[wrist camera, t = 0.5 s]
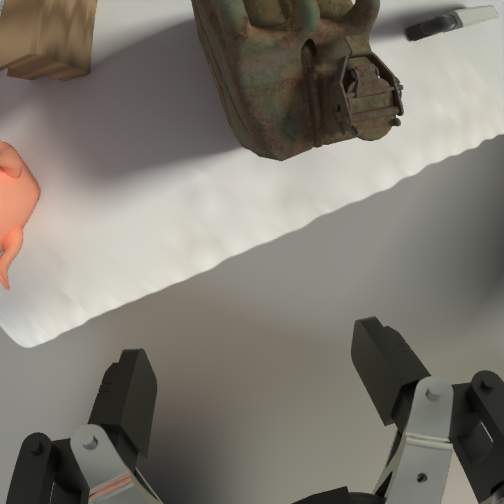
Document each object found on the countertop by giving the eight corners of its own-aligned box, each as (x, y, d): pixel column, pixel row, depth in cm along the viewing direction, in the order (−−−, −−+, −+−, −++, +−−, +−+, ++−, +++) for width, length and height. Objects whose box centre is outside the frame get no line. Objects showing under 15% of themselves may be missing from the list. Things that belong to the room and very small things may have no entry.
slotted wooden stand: (39, 17, 22) (-20, -11, 8) (101, -5, 23) (54, -52, 9) (30, 94, 27) (-41, 90, 13) (93, 76, 28) (29, 53, 14)
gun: (391, 32, 28) (443, 11, 19) (456, 14, 30) (494, 4, 21) (400, 47, 29) (453, 30, 20) (462, 25, 31) (500, 17, 22)
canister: (191, 19, 27) (158, -115, 4) (256, 2, 27) (307, -130, 4) (237, 151, 34) (274, 185, 11) (302, 132, 34) (438, 140, 11)
